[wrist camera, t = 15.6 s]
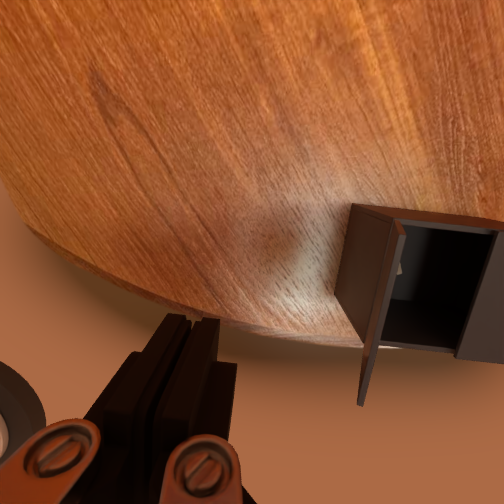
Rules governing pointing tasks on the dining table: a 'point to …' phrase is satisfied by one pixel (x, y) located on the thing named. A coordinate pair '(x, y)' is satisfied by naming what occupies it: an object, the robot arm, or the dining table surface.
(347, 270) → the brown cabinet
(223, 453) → the robot arm
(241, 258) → the dining table surface
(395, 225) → the flap
